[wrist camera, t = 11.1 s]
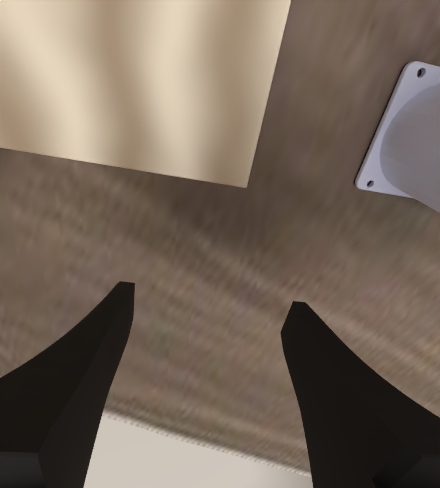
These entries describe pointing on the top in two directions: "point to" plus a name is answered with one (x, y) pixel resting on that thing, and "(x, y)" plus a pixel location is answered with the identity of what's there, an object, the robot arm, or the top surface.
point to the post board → (140, 82)
